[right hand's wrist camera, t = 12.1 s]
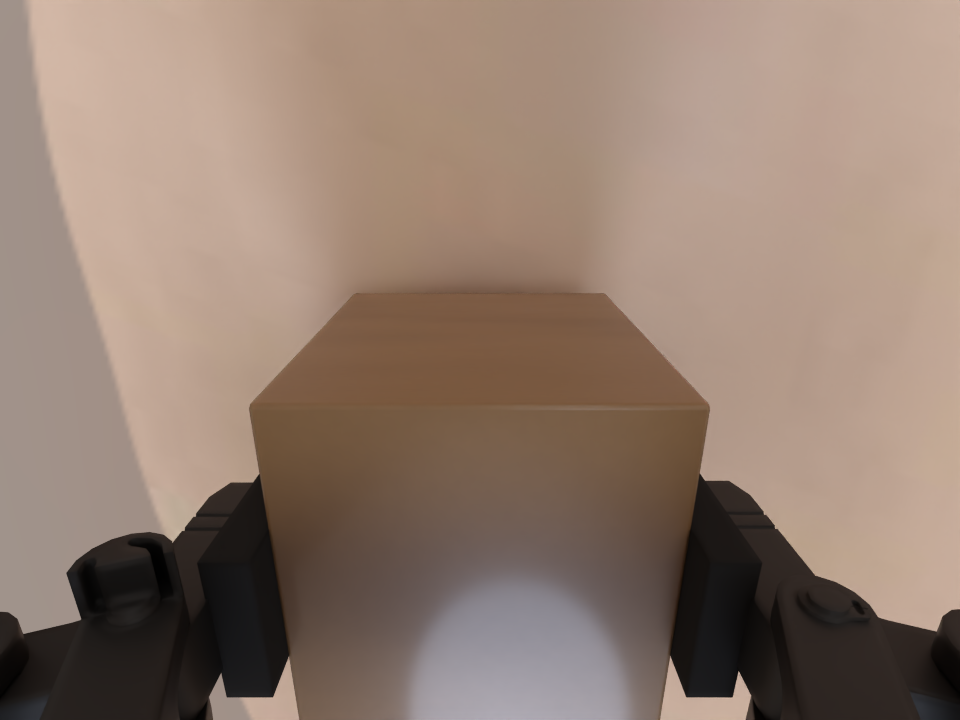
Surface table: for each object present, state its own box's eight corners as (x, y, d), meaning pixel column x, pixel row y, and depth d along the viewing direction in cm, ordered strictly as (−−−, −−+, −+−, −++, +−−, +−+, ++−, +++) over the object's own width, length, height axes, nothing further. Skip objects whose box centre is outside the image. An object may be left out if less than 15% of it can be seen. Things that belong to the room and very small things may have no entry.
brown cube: (587, 515, 17) (657, 745, 10) (371, 515, 17) (301, 745, 10) (605, 292, 15) (713, 404, 8) (353, 292, 15) (246, 404, 8)
